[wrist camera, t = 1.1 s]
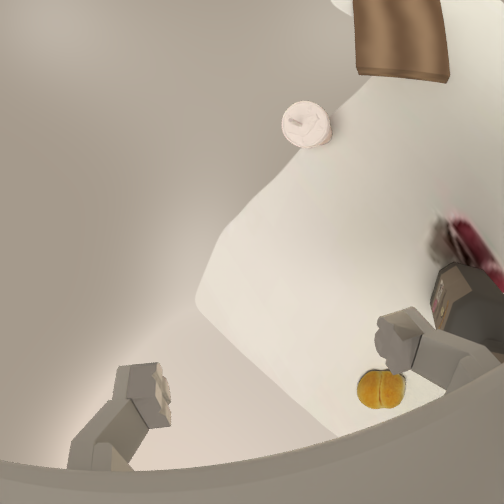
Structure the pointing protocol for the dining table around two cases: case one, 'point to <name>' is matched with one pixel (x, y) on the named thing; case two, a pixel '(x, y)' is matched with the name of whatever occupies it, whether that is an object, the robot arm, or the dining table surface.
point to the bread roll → (381, 389)
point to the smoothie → (306, 125)
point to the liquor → (470, 307)
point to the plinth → (401, 39)
